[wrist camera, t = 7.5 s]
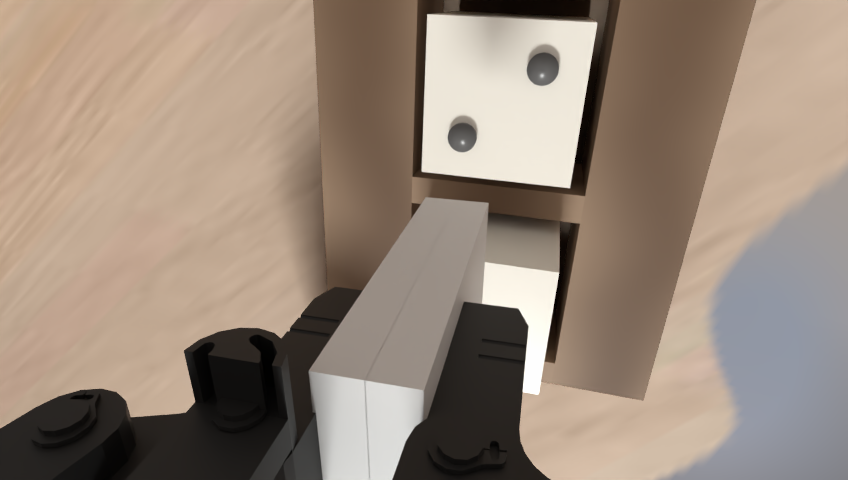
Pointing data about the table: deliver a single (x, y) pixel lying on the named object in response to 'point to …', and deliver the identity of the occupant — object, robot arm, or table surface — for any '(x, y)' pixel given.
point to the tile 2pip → (505, 95)
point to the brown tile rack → (580, 204)
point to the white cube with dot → (524, 279)
